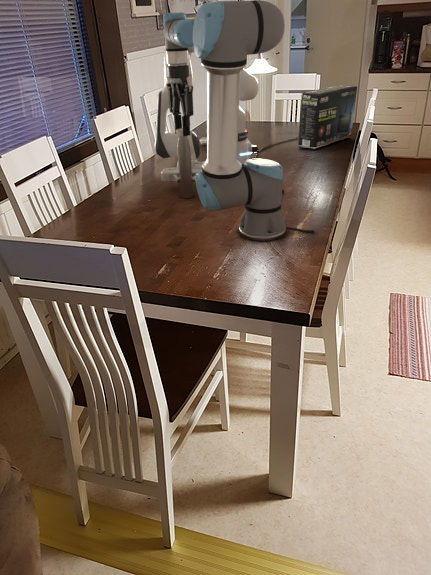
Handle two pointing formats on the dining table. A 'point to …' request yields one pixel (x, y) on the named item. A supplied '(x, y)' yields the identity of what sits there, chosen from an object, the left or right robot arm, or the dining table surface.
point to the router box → (326, 115)
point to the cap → (179, 132)
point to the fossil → (203, 140)
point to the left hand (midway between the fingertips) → (186, 180)
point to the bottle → (185, 167)
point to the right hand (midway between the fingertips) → (182, 134)
